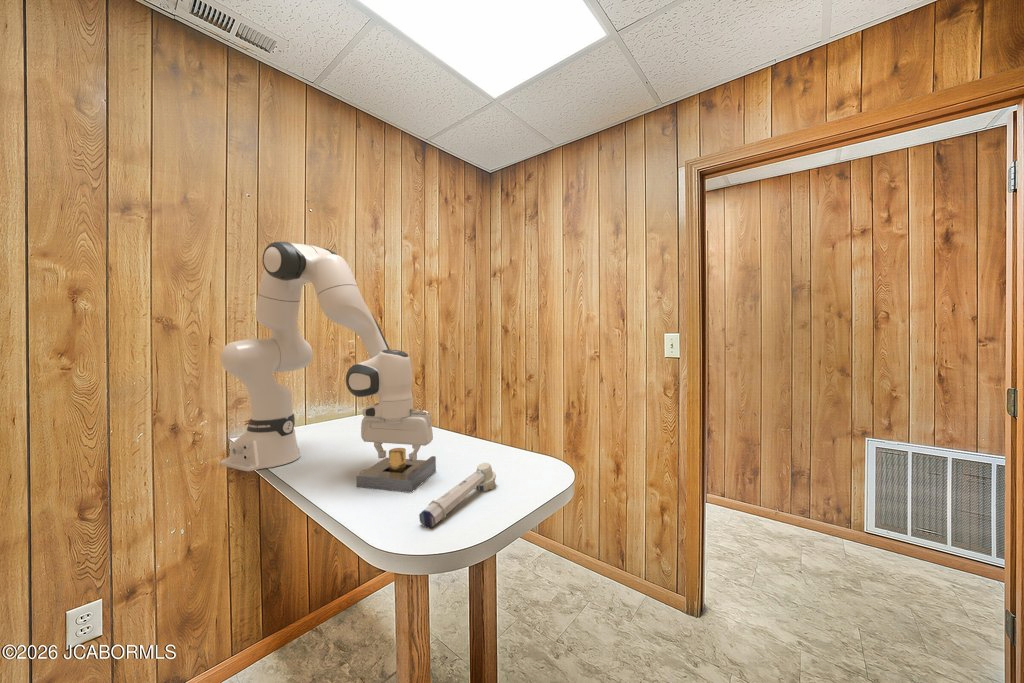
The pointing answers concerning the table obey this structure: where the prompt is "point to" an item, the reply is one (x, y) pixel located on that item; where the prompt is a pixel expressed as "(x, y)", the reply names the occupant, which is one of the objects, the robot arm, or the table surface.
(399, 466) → the gold metallic cylinder
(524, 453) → the table surface
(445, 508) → the beige piece
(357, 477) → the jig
